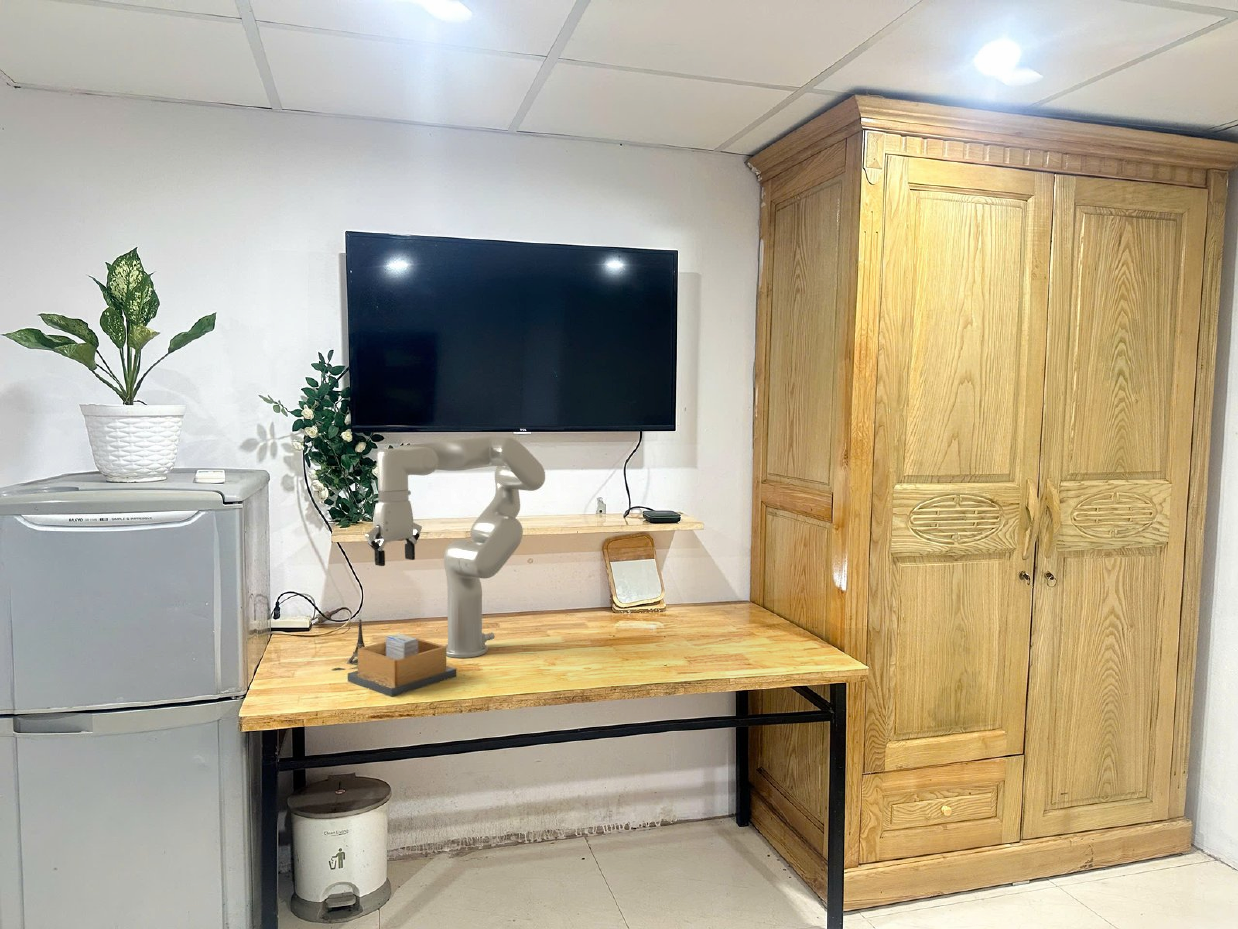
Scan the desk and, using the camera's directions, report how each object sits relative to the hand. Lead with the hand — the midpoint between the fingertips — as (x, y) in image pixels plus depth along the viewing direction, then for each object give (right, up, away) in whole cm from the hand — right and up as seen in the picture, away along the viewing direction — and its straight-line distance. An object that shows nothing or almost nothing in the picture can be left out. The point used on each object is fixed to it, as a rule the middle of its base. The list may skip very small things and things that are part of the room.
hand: (395, 562), depth 222 cm
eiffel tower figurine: (-12, -29, +9) cm, 32 cm away
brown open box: (+3, -29, -4) cm, 30 cm away
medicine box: (+3, -27, -5) cm, 28 cm away
